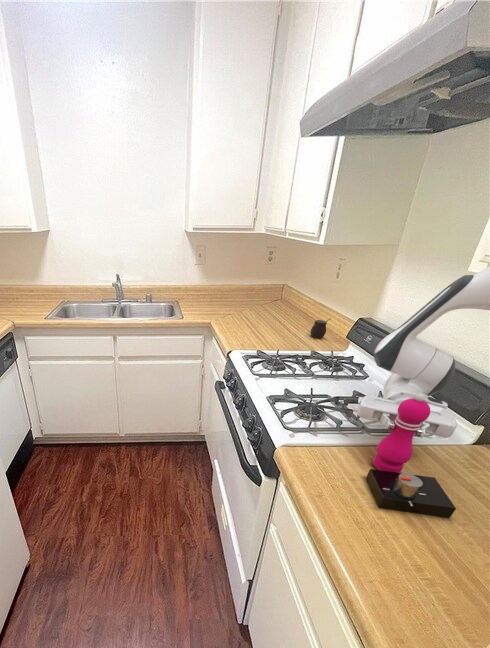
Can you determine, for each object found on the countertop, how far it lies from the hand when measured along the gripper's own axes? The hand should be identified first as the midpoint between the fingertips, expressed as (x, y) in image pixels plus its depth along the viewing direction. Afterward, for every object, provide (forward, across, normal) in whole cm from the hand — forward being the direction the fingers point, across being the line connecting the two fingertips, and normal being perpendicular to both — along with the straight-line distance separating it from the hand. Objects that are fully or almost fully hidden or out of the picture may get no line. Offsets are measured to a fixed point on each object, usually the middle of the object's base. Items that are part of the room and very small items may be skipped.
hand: (404, 430), depth 79 cm
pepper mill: (-1, 0, +11) cm, 11 cm away
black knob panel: (+8, +4, +12) cm, 15 cm away
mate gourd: (-103, -30, +12) cm, 108 cm away
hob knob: (+11, +3, +9) cm, 14 cm away
